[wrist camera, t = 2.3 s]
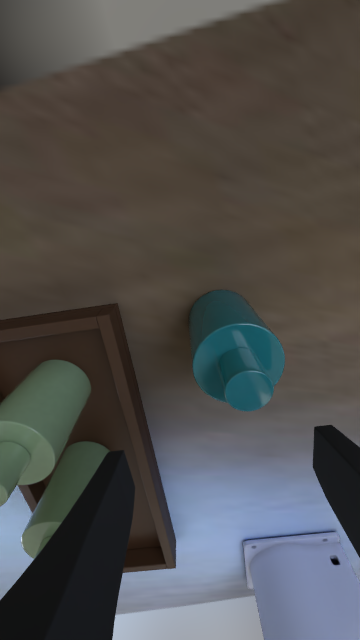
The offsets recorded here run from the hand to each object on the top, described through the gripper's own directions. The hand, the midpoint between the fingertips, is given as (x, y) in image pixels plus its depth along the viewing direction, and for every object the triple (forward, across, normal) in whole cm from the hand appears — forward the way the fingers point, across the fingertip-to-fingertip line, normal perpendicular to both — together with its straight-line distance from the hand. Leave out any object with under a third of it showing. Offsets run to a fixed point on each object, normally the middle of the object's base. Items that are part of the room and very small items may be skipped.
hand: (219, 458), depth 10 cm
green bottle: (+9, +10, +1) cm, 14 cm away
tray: (+9, +10, +9) cm, 17 cm away
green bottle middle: (+9, +10, +9) cm, 16 cm away
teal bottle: (+9, -2, -2) cm, 10 cm away
